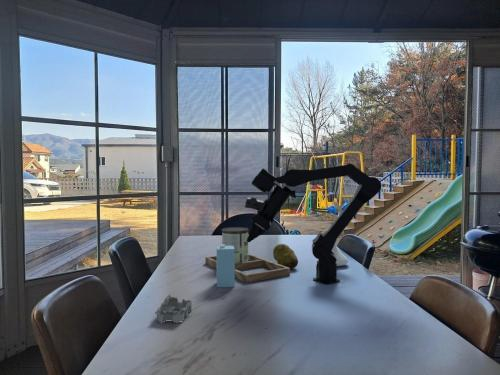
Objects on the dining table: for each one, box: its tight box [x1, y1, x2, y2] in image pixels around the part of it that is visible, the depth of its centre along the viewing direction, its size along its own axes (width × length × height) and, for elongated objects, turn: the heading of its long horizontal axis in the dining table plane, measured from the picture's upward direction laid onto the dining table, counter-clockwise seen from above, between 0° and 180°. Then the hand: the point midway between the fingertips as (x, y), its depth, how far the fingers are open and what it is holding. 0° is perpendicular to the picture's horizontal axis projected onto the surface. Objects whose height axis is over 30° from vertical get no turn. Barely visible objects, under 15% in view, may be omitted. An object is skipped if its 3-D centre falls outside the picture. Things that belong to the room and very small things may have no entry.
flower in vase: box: [317, 200, 349, 267], centre depth 152 cm, size 13×11×25 cm
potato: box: [272, 243, 299, 270], centre depth 149 cm, size 8×13×8 cm, turn 5°
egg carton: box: [154, 294, 194, 323], centre depth 99 cm, size 11×8×4 cm
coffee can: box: [221, 226, 250, 263], centre depth 152 cm, size 10×10×14 cm
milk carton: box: [216, 244, 236, 288], centre depth 126 cm, size 6×6×13 cm
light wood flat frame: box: [204, 253, 291, 284], centre depth 145 cm, size 31×18×2 cm, turn 32°
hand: (249, 239), depth 133 cm, fingers open, 9 cm apart
